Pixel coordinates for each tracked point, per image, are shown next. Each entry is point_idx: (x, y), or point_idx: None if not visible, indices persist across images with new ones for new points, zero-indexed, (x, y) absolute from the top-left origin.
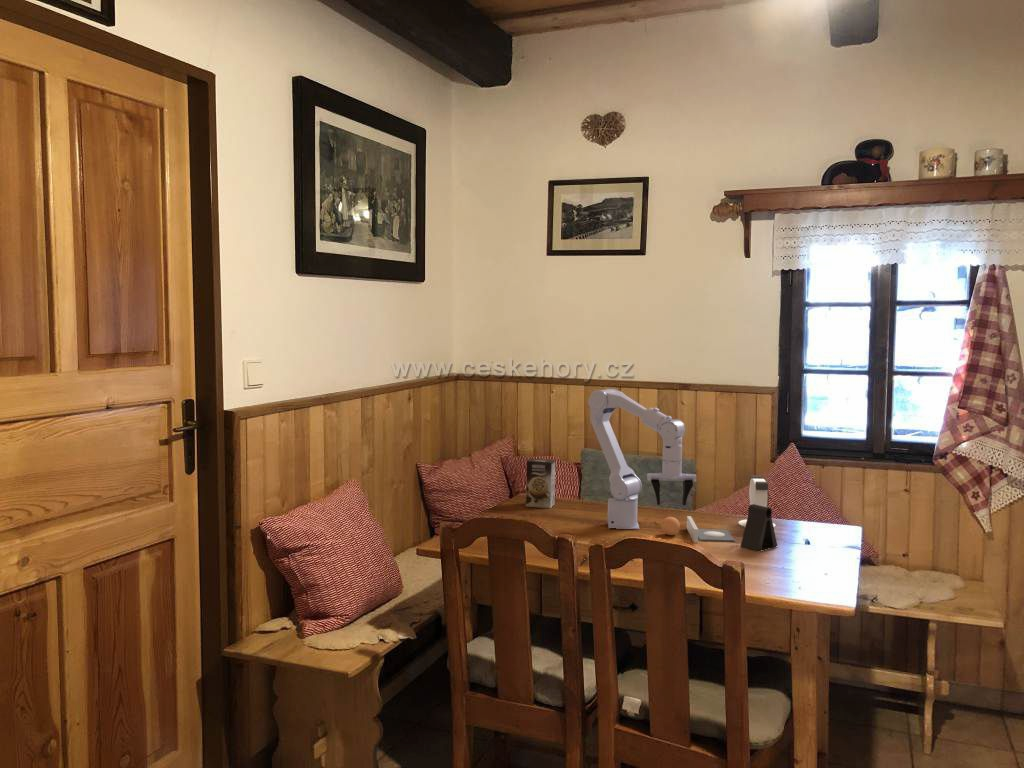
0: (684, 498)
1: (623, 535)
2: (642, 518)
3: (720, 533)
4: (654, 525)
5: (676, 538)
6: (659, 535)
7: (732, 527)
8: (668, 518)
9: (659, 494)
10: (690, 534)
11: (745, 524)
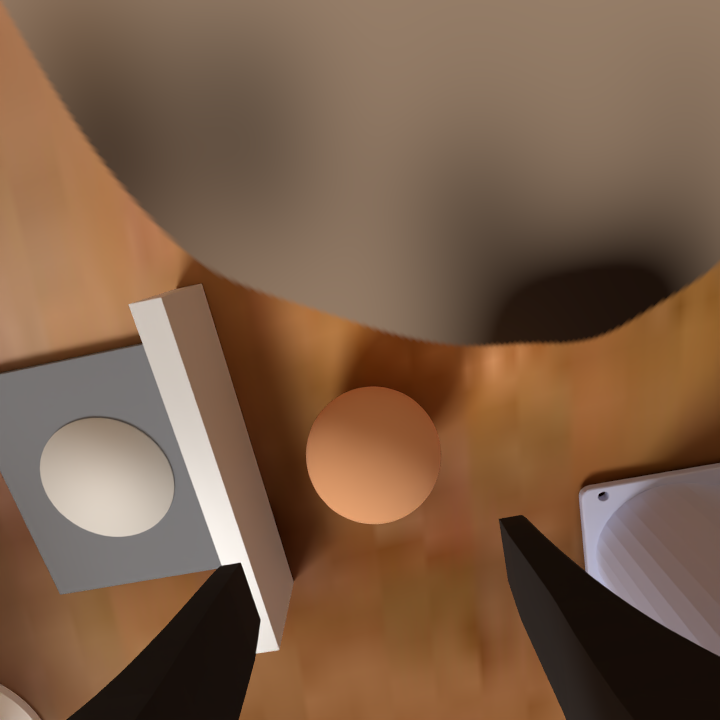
0: (197, 617)
1: (685, 325)
2: (558, 715)
3: (73, 502)
4: (484, 601)
5: (326, 354)
6: (441, 395)
7: (59, 664)
8: (391, 463)
9: (555, 598)
10: (245, 439)
11: (2, 718)
